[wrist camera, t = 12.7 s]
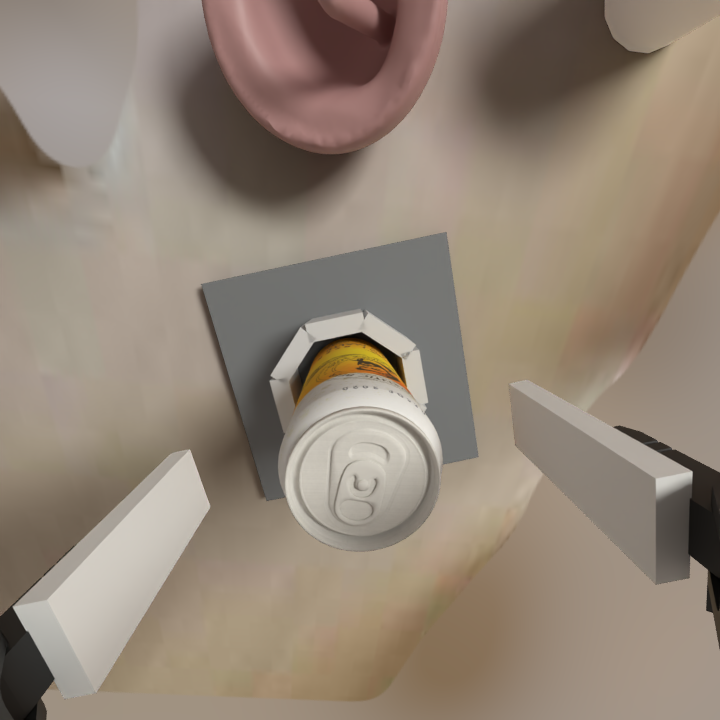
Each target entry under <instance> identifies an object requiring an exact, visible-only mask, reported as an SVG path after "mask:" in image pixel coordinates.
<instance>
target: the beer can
mask: <svg viewBox="0 0 720 720" xmlns="http://www.w3.org/2000/svg"><path fill="white" fill-rule="evenodd" d="M442 465H443V456H442V448H441V443H440V440H439V437H438V434H437V432H436V430H435V428H434V426H433V424H432V423H431V421H430V420H429V418H428V417H427V415H426V414H425V413H424V411H423V410H422V408H421V407H420V405H419V404H418V403H417V401H416V400H415V398H414V397H413V396H412V394H411V393H410V391H409V390H408V389H407V387H406V386H405V384H404V383H403V381H402V380H401V379H400V377H399V376H398V374H397V373H396V372H395V370H394V369H393V367H392V366H391V364H390V363H389V362H388V360H387V359H386V357H385V356H384V355H383V353H382V352H381V351H380V350H379V349H378V348H377V347H376V346H374V345H373V344H371V343H369V342H367V341H365V340H362V339H357V338H344V339H339V340H336V341H334V342H331V343H330V344H328V345H326V346H325V347H324V348H323V349H322V350H321V351H320V352H319V353H318V354H317V355H316V357H315V359H314V361H313V363H312V365H311V368H310V370H309V373H308V376H307V378H306V381H305V383H304V386H303V389H302V391H301V394H300V396H299V399H298V402H297V404H296V407H295V409H294V412H293V415H292V417H291V420H290V422H289V425H288V428H287V430H286V433H285V435H284V438H283V441H282V444H281V447H280V452H279V457H278V473H279V479H280V484H281V487H282V490H283V492H284V495H285V497H286V499H287V502H288V505H289V508H290V510H291V512H292V514H293V516H294V518H295V519H296V521H297V522H298V523H299V524H300V526H301V527H302V528H303V529H304V530H305V531H306V532H307V533H308V534H310V535H311V536H312V537H314V538H315V539H317V540H318V541H320V542H322V543H324V544H326V545H328V546H331V547H334V548H337V549H341V550H346V551H355V552H365V551H374V550H378V549H383V548H386V547H389V546H392V545H394V544H396V543H398V542H400V541H402V540H404V539H405V538H407V537H408V536H410V535H411V534H413V533H414V532H415V531H416V530H417V529H418V528H419V527H420V526H421V525H422V524H423V523H424V522H425V521H426V519H427V518H428V516H429V515H430V513H431V512H432V510H433V508H434V506H435V504H436V501H437V498H438V495H439V491H440V485H441V473H442Z"/></svg>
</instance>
